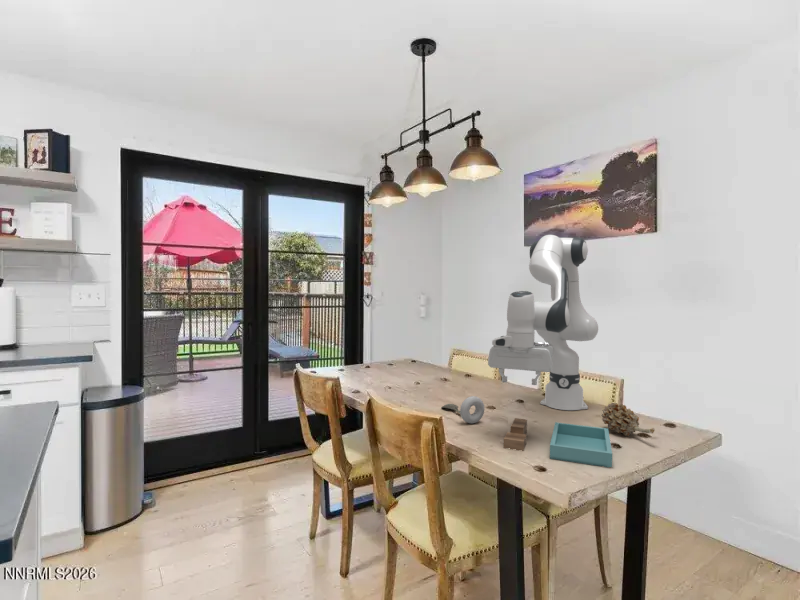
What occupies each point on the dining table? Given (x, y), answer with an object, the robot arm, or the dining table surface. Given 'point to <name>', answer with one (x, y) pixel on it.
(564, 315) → the robot arm
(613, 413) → the pine cone
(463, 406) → the donut
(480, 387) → the dining table surface
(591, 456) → the serving bin
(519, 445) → the stepped brown block
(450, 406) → the soupspoon
